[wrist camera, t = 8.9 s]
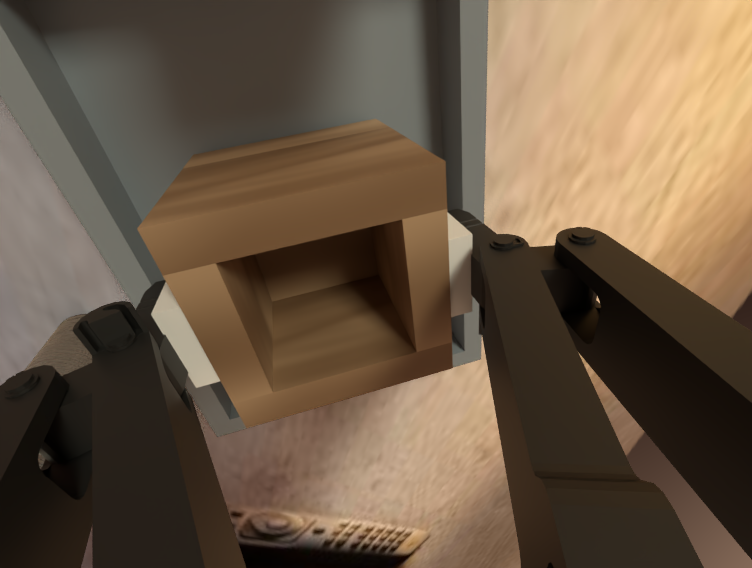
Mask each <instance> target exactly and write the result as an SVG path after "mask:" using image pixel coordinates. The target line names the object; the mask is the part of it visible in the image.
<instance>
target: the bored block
mask: <svg viewBox="0 0 752 568" xmlns="http://www.w3.org/2000/svg"><path fill="white" fill-rule="evenodd" d="M137 230H138V231H139V233H140V235H141V237H142V239H143V241H144V242H145V244H146V246H147V248H148V250H149V252H150V253H151V255H152V257H153V259H154V261H155V262H156V264H157V266H158V268H159V270H160V272H161V273H162V275H163V277H164V279H165V281H166V283H167V284H168V286H169V288H170V290H171V292H172V293H173V295H174V297H175V299H176V301H177V303H178V304H179V306H180V308H181V310H182V312H183V314H184V315H185V317H186V319H187V321H188V323H189V324H190V326H191V328H192V330H193V332H194V334H195V335H196V337H197V339H198V341H199V343H200V345H201V346H202V348H203V350H204V352H205V354H206V355H207V357H208V359H209V361H210V363H211V365H212V366H213V368H214V370H215V372H216V374H217V376H218V377H219V379H220V381H221V383H222V385H223V386H224V388H225V390H226V392H227V394H228V396H229V397H230V399H231V401H232V403H233V405H234V407H235V408H236V410H237V412H238V414H239V416H240V417H241V419H242V421H243V423H244V425H245V427H246V428H249V427H253V426H256V425H259V424H263V423H266V422H270V421H273V420H277V419H280V418H283V417H287V416H290V415H294V414H297V413H301V412H304V411H307V410H311V409H314V408H318V407H321V406H325V405H328V404H331V403H335V402H338V401H342V400H345V399H349V398H352V397H355V396H359V395H362V394H366V393H369V392H373V391H376V390H379V389H383V388H386V387H390V386H393V385H397V384H400V383H403V382H407V381H410V380H414V379H417V378H421V377H424V376H427V375H431V374H434V373H438V372H441V371H445V370H448V369H451V368H453V356H452V328H451V300H450V272H449V243H448V215H447V187H446V161H444V160H442V159H441V158H439V157H438V156H436V155H434V154H433V153H431V152H429V151H428V150H426V149H425V148H423V147H421V146H420V145H418V144H416V143H415V142H413V141H411V140H410V139H408V138H407V137H405V136H403V135H402V134H400V133H398V132H397V131H395V130H394V129H392V128H390V127H389V126H387V125H385V124H384V123H382V122H381V121H379V120H377V119H371V120H366V121H361V122H356V123H351V124H346V125H341V126H336V127H331V128H326V129H321V130H316V131H310V132H305V133H300V134H295V135H290V136H285V137H280V138H275V139H270V140H265V141H260V142H255V143H250V144H245V145H240V146H235V147H230V148H225V149H220V150H215V151H210V152H205V153H199V154H194V155H193V156H192V157H191V158H190V160H189V161H188V162H187V164H186V165H185V166H184V168H183V169H182V170H181V172H180V173H179V174H178V176H177V177H176V178H175V179H174V181H173V182H172V183H171V185H170V186H169V187H168V189H167V190H166V191H165V193H164V194H163V195H162V197H161V198H160V199H159V201H158V202H157V203H156V204H155V206H154V207H153V208H152V210H151V211H150V212H149V214H148V215H147V216H146V218H145V219H144V220H143V222H142V223H141V224H140V225H139V227H138V228H137Z"/></svg>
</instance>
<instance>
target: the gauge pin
mask: <svg viewBox="0 0 752 568" xmlns="http://www.w3.org/2000/svg"><path fill="white" fill-rule="evenodd" d="M85 315H87V314H80V315H75V316H72V317H70V318H68V319H66V320H64V321H63V322H62V323H61V324H60V325H59V327H58V328H57V329H56V330H55V332H54V333H53V334H52V336H51V337H50V338H49V339H48V341H47V342H46V343H45V345H44V346H43V347H42V348H41V350H40V351H39V352H38V354H37V355H36V356H35V357H34V359H33V360H32V361H31V363H30V364H29V365H28V366H27V368H26V369H25V370H24V371H26V370H28V369H31V368H33V367H38V366H42V365H50V366H53V367H54V368H55V369H56V370H57V372H58V373H59V374H60V375H61V376H63V375H65V374H67V373H70V372H72V371H74V370H77V369H79V368H81V367H83V366H86V365H88V364H90V363H92V355H91V354H90V353H89V351H88V350H87V349H86V347H85V346H84V345H83V344H82V342H81V341H80V340H79V339H78V337H77V336H76V335H75V334H74V332H73V331H72V330H73V327H74V325H75V324H76V323H77V322H78V321H79V320H80V319H81V318H82V317H84V316H85ZM44 461H45V458H44V457H43V456H41V455H40V454H39V456H38V462H39V467H40V469H41V468H42V466H43V463H44Z"/></svg>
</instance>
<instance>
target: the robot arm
mask: <svg viewBox="0 0 752 568" xmlns="http://www.w3.org/2000/svg"><path fill="white" fill-rule="evenodd" d="M447 215H448V243H449V272H450V300H451V317H454V316H457V315H461V314H465V313H468V312H472V296H473V297H474V299H475V300H476V301H477V302H478V303H479V335H482V337H483V342H484V348H485V354H486V360H487V365H488V371H489V377H490V383H491V388H492V394H493V400H494V405H495V411H496V417H497V423H498V428H499V434H500V440H501V446H502V451H503V457H504V463H505V468H506V474H507V480H508V486H509V491H510V497H511V503H512V509H513V514H514V520H515V526H516V531H517V537H518V543H519V550H520V559H521V568H704V567H703V565H702V563H701V561H700V559H699V558H698V555H697V553H696V552H695V550H694V548H693V546H692V544H691V542H690V540H689V538H688V536H687V534H686V532H685V530H684V528H683V526H682V524H681V522H680V520H679V518H678V516H677V514H676V512H675V510H674V509H673V507H672V506H671V504H670V502H669V501H668V499H667V498H666V496H665V494H664V493H663V492H662V491H661V490H660V489H659V488H658V487H657V486H656V485H655V484H654V483H651V482H647V481H643V480H640V479H639V478H638V477H637V476H636V475H635V474H634V472H633V470H632V468H631V466H630V464H629V462H628V460H627V458H626V455H625V453H624V451H623V449H622V447H621V445H620V442H619V440H618V438H617V436H616V434H615V431H614V429H613V427H612V425H611V423H610V421H609V418H608V416H607V414H606V412H605V410H604V408H603V405H602V403H601V401H600V399H599V397H598V395H597V392H596V390H595V388H594V386H593V384H592V382H591V379H590V377H589V375H588V373H587V371H586V368H585V366H584V364H583V362H582V360H581V358H580V355H581V356H582V357H583V358H584V359H585V361H586V362H587V363H588V364H589V365H590V367H591V368H592V369H593V370H594V371H595V373H596V374H597V375H598V376H599V377H600V379H601V380H602V381H603V382H604V383H605V385H606V386H607V387H608V388H609V389H610V391H611V392H612V393H613V394H614V395H615V397H616V398H617V399H618V400H619V401H620V403H621V404H622V405H623V406H624V407H625V409H626V410H627V411H628V412H629V413H630V415H631V416H632V417H633V418H634V419H635V420H636V422H637V423H638V424H639V425H640V426H641V428H642V429H643V430H644V431H645V432H646V434H647V435H648V436H649V437H650V438H651V439H652V441H653V442H654V443H655V444H656V446H657V447H658V448H659V449H660V450H661V452H662V453H663V454H664V455H665V456H666V458H667V459H668V460H669V461H670V462H671V464H672V465H673V466H674V467H675V468H676V470H677V471H678V472H679V473H680V474H681V476H682V477H683V478H684V479H685V480H686V482H687V483H688V484H689V485H690V486H691V488H692V489H693V490H694V491H695V492H696V494H697V495H698V496H699V497H700V498H701V500H702V501H703V502H704V503H705V504H706V505H707V507H708V508H709V509H710V510H711V512H712V513H713V514H714V515H715V516H716V518H718V520H719V521H720V522H721V523H722V525H723V526H724V527H725V528H726V529H727V531H728V532H729V533H730V534H731V535H732V537H733V538H734V539H735V540H736V541H737V543H738V544H739V545H740V546H741V547H742V549H743V550H744V551H745V552H746V553H747V555H748V556H749V557H750V558H751V559H752V332H751V331H750V330H748V329H747V328H745V327H744V326H742V325H741V324H739V323H738V322H736V321H735V320H733V319H732V318H730V317H729V316H727V315H726V314H724V313H723V312H721V311H720V310H718V309H717V308H715V307H714V306H712V305H711V304H709V303H708V302H706V301H705V300H703V299H702V298H700V297H699V296H697V295H696V294H694V293H693V292H691V291H690V290H688V289H687V288H685V287H684V286H682V285H681V284H679V283H678V282H676V281H675V280H673V279H672V278H670V277H669V276H667V275H666V274H664V273H663V272H661V271H660V270H658V269H657V268H655V267H654V266H652V265H651V264H649V263H648V262H646V261H645V260H643V259H642V258H640V257H639V256H637V255H636V254H634V253H633V252H631V251H630V250H628V249H627V248H625V247H624V246H622V245H621V244H619V243H618V242H616V241H615V240H613V239H612V238H610V237H609V236H607V235H606V234H604V233H602V232H600V231H598V230H594V229H590V228H586V227H583V228H582V227H576V228H569V229H566V230H562V231H561V232H559V233H558V234H557V237H556V243H555V246H541V247H529V245H528V243H527V242H526V241H525V239H523V238H521V237H519V236H516V235H510V234H496V233H495V232H493V231H492V230H491V229H490V228H488V227H487V226H486V225H485V224H482V222H481V221H480V220H478V219H476V217H474V216H473V215H472V214H471V213H469V212H467V211H464V210H461V209H454V210H450V211H447ZM597 296H598V298H599V300H600V303H599V302H598V301H596V298H597ZM72 331H73V332H74V334H75V335H76V336H77V337H78V339H79V340H80V341H81V342H82V344H83V345H84V346H85V347H86V349H87V350H88V351H89V353H90V354H91V355H92V363H90V364H88V365H86V366H83V367H81V368H79V369H77V370H74V371H72V372H70V373H67V374H65V375H63V376H61V375H60V374H59V373H58V372H57V370H56V369H55V368H54V367H53V366H50V365H42V366H38V367H33V368H31V369H28V370H26V371H22V372H20V373H18V374H16V376H12V377H11V378H9V379H7V380H6V382H5V383H3V384H2V385H1V386H0V568H81V564H82V561H83V557H84V553H85V549H86V546H87V542H88V538H89V534H90V531H91V527H92V523H93V568H246V566H245V562H244V559H243V556H242V553H241V550H240V547H239V544H238V541H237V538H236V534H235V531H234V528H233V525H232V522H231V519H230V516H229V513H228V510H227V506H226V503H225V500H224V497H223V494H222V491H221V488H220V485H219V482H218V478H217V475H216V472H215V469H214V466H213V463H212V460H211V457H210V454H209V451H208V447H207V444H206V441H205V438H204V435H203V432H202V429H201V426H200V423H199V419H198V416H197V413H196V410H195V407H194V404H193V401H192V398H191V396H190V394H189V393H188V391H187V390H186V388H185V383H186V379H187V376H189V377H190V379H191V381H192V382H193V384H194V385H195V387H196V388H198V387H202V386H205V385H209V384H212V383H216V382H220V379H219V377H218V376H217V374H216V372H215V370H214V368H213V366H212V365H211V363H210V361H209V359H208V357H207V355H206V354H205V352H204V350H203V348H202V346H201V345H200V343H199V341H198V339H197V337H196V335H195V334H194V332H193V330H192V328H191V326H190V324H189V323H188V321H187V319H186V317H185V315H184V314H183V312H182V310H181V308H180V306H179V304H178V303H177V301H176V299H175V297H174V295H173V293H172V292H171V290H170V288H169V286H168V284H167V283H166V281H165V280H162V281H158V282H155V283H154V284H153V285H152V286H151V287H150V288H149V289H147V290H146V291H145V293H144V295H143V296H142V298H141V300H140V303H139V304H138V306H137V308H136V310H135V308H134V306H133V305H132V304H131V303H130V302H125V301H121V302H114V303H110V304H107V305H104V306H102V307H99V308H97V309H95V310H93V311H91V312H90V313H88V314H87V315H85V316H84V317H82V318H81V319H80V320H79V321H78V322H77V323H76V324H75V325H74V327H73V330H72ZM578 352H579V353H580V355H579V353H578ZM39 454H40V455H41V456H43V457H44V458H45V461H44V463H43V466H42V468H41V469H40V467H39V462H38V456H39Z"/></svg>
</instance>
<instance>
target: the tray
mask: <svg viewBox="0 0 752 568" xmlns="http://www.w3.org/2000/svg"><path fill="white" fill-rule="evenodd" d="M487 41H488V0H0V96H1V98H2V100H3V101H4V103H5V104H6V106H7V107H8V109H9V111H10V112H11V114H12V115H13V117H14V118H15V120H16V122H17V123H18V125H19V126H20V128H21V129H22V131H23V133H24V134H25V136H26V137H27V139H28V140H29V142H30V143H31V145H32V147H33V148H34V150H35V151H36V153H37V154H38V156H39V158H40V159H41V161H42V162H43V164H44V165H45V167H46V169H47V170H48V172H49V173H50V175H51V176H52V178H53V180H54V181H55V183H56V184H57V186H58V187H59V189H60V191H61V192H62V194H63V195H64V197H65V198H66V200H67V202H68V203H69V205H70V206H71V208H72V209H73V211H74V213H75V214H76V216H77V217H78V219H79V220H80V222H81V224H82V225H83V227H84V228H85V230H86V231H87V233H88V235H89V236H90V238H91V239H92V241H93V242H94V244H95V246H96V247H97V249H98V250H99V252H100V253H101V255H102V257H103V258H104V260H105V261H106V263H107V264H108V266H109V268H110V269H111V271H112V272H113V274H114V275H115V277H116V279H117V280H118V282H119V283H120V285H121V286H122V288H123V290H124V291H125V293H126V294H127V296H128V297H129V299H130V301H131V302H132V304H133V305H134V307H135V308H137V306H138V304H139V303H140V300H141V298H142V296H143V295H144V293H145V291H146V290H147V289H149V288H150V287H151V286H152V285H153V284H154V283H155V282H158V281H162V280H165V279H164V277H163V275H162V273H161V272H160V270H159V268H158V266H157V264H156V262H155V261H154V259H153V257H152V255H151V253H150V252H149V250H148V248H147V246H146V244H145V242H144V241H143V239H142V237H141V235H140V233H139V231H138V230H137V228H138V227H139V225H140V224H141V223H142V222H143V220H144V219H145V218H146V216H147V215H148V214H149V212H150V211H151V210H152V208H153V207H154V206H155V204H156V203H157V202H158V201H159V199H160V198H161V197H162V195H163V194H164V193H165V191H166V190H167V189H168V187H169V186H170V185H171V183H172V182H173V181H174V179H175V178H176V177H177V176H178V174H179V173H180V172H181V170H182V169H183V168H184V166H185V165H186V164H187V162H188V161H189V160H190V158H191V157H192V156H193V155H194V154H199V153H205V152H210V151H215V150H220V149H225V148H230V147H235V146H240V145H245V144H250V143H255V142H260V141H265V140H270V139H275V138H280V137H285V136H290V135H295V134H300V133H305V132H310V131H316V130H321V129H326V128H331V127H336V126H341V125H346V124H351V123H356V122H361V121H366V120H371V119H377V120H379V121H381V122H382V123H384V124H385V125H387V126H389V127H390V128H392V129H394V130H395V131H397V132H398V133H400V134H402V135H403V136H405V137H407V138H408V139H410V140H411V141H413V142H415V143H416V144H418V145H420V146H421V147H423V148H425V149H426V150H428V151H429V152H431V153H433V154H434V155H436V156H438V157H439V158H441V159H442V160H444V161H446V187H447V211H450V210H454V209H461V210H464V211H467V212H469V213H471V214H472V215H473V216H474V217H476V219H478V220H480V221H481V222H482V224H484V189H485V140H486V91H487ZM451 328H452V356H453V367H456V366H460V365H463V364H466V363H470V362H473V361H477V360H480V359H481V336H482V335H479V303H478V302H477V301H476V300H475V299H474V297H473V296H472V312H468V313H465V314H461V315H457V316H454V317H451ZM185 387H186V388H187V390H188V392H189V393H190V395H191V396H192V398H193V399H194V401H195V403H196V404H197V406H198V407H199V409H200V410H201V412H202V414H203V415H204V417H205V418H206V420H207V421H208V423H209V425H210V426H211V428H212V429H213V431H214V432H215V434H216V436H217V437H219V436H223V435H226V434H230V433H233V432H236V431H240V430H243V429H247V428H246V427H245V425H244V423H243V421H242V419H241V417H240V416H239V414H238V412H237V410H236V408H235V407H234V405H233V403H232V401H231V399H230V397H229V396H228V394H227V392H226V390H225V388H224V386H223V385H222V383H221V381H220V382H216V383H212V384H209V385H205V386H202V387H198V388H196V387H195V385H194V384H193V382H192V381H191V379H190V377H189V376H187V379H186V383H185ZM290 416H291V415H290ZM283 418H284V417H283ZM273 421H274V420H273ZM266 423H267V422H266ZM259 425H260V424H259ZM256 426H257V425H256ZM249 428H250V427H249Z"/></svg>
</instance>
